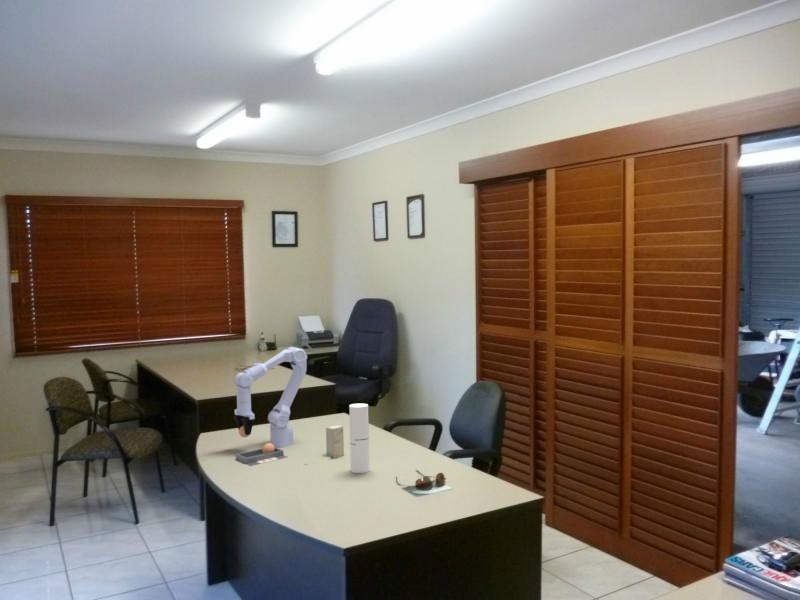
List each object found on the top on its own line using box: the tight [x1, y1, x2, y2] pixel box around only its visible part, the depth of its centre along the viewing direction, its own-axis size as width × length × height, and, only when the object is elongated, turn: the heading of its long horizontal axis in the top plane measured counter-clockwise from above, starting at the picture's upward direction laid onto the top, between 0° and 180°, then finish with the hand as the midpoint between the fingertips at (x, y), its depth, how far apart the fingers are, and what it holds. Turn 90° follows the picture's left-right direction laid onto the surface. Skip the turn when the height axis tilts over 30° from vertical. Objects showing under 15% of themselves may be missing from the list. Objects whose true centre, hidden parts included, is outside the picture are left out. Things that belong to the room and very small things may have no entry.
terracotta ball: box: [238, 426, 250, 438], centre depth 269 cm, size 5×5×5 cm
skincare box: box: [325, 424, 345, 459], centre depth 262 cm, size 6×4×12 cm
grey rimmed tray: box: [235, 447, 288, 467], centre depth 258 cm, size 17×13×3 cm
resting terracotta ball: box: [261, 442, 275, 454], centre depth 262 cm, size 5×5×5 cm
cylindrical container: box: [348, 402, 370, 474], centre depth 243 cm, size 7×7×25 cm
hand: (244, 433), depth 269 cm, fingers closed on terracotta ball, 5 cm apart
